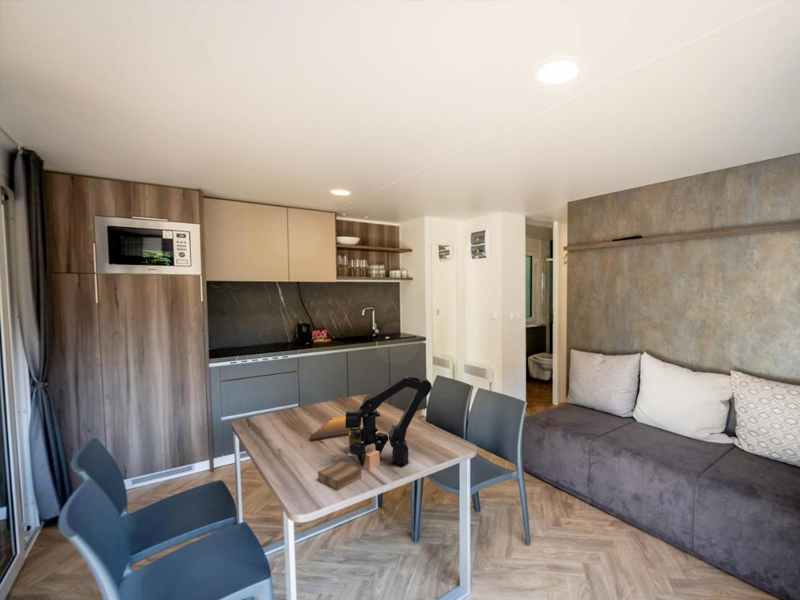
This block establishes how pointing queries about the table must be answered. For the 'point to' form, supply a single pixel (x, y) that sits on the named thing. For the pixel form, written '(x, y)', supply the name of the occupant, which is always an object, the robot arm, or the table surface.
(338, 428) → the pan flute
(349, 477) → the walnut block
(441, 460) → the table surface
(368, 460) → the terracotta cube
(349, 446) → the condiment
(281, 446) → the table surface
